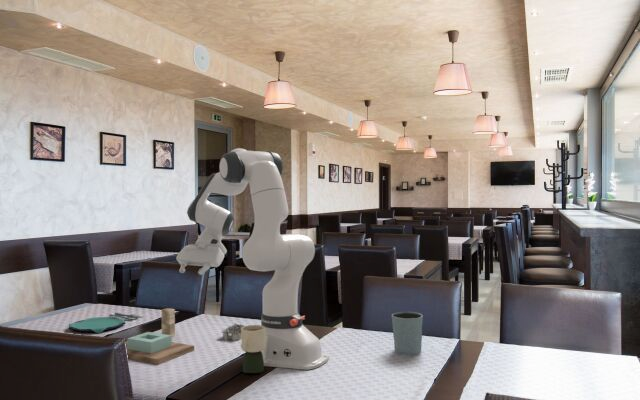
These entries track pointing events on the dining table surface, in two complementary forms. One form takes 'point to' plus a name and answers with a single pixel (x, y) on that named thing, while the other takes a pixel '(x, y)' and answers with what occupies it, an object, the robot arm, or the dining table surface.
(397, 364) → the dining table surface
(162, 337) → the end cap
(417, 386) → the dining table surface
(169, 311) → the beige tall block
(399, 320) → the grey green cup
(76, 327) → the teal flat piece
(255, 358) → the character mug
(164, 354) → the walnut board
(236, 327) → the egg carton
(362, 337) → the dining table surface
